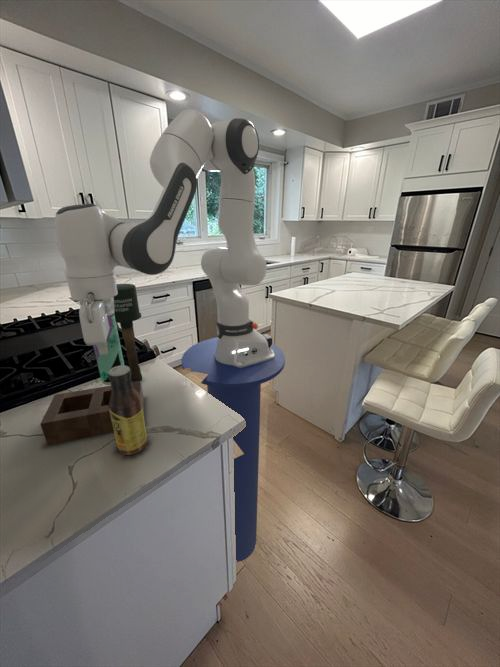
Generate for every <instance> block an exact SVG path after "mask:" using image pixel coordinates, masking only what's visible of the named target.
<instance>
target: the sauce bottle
mask: <svg viewBox="0 0 500 667" xmlns="http://www.w3.org/2000/svg"><path fill="white" fill-rule="evenodd" d="M108 378H109V380H110V382H111V385H110V386H111V387H112V391H111V396H110V401H109V406H108V408H109V412H110V417H111V421H112V426H113V430H114V431H113V435H114V439H115V443H116V447H117V449H118V451H119V452H120V453H121V454H122V455H125V456H130V455H131V456H132V455H135V454H138V453H140V452H141V451H142V450H144V449H145V448H146V445H147V442H148V441H147V437H148V435H147V428H146V424H145V423H146V422H145V414H144V415H143V408H142V405H141V399H140V395H139V392H138V391H137V390H135V389H134V388H133V385H132V382H131V370H130V368H129V365H125V364H124V365H121V366H116V367H113V368H112V369H110V370H109V371H108Z"/></svg>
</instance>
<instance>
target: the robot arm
mask: <svg viewBox="0 0 500 667" xmlns="http://www.w3.org/2000/svg"><path fill="white" fill-rule="evenodd" d="M259 149H260V138H259V134H258V131H257V129H256V127H255V126H254V124H253V122H252V121H251V120H249V119H246V118H239V117H235V118H232V119H226V120H219V121H215V122H213V123H210V121H209V120H208V118H207V117H206V115H204V114H203V113H202V112H200V111H198V110H196V109H193V108H187V109H184V110H182V111H181V112H180V113H178V114H177V115H176V116H175V117H174V118H173V119H172V121H171V122H170V123H169V124H168V125H167V127H166V128H165V130H163V132H162V133H161V135H160V137H159V138H158V140H157V141H156V143H155V145H154V146H153V149H152V151H151V154H150V157H149V165H150V171H151V173H152V175H153V177H154V178H155V180H156V182H157V183H158V184H160V186H161V187H162V188H163V189H162V191H161V194H160V196H159V198H158V200H157V202H156V204H155V205H154V206H155V207H154V209H153V211H152V213H151V215H150V216H149V217H147V218H146V219H145V220H142V221H140V222H126V221H125V220H122V219H119V218H117V217H116V216H113V215H112V214H110V213H108V212H106V211H104V210H103V209H102V208H100V207H99V206H98V205H97V204H95V203H82V204H74V205H67V206H63V207H61V208H59V209H58V210H57V211H56V212H55V216H54V222H55V232H56V239H57V243H58V244H57V245H58V247H59V252H60V256H61V257H62V258H63V261H64V263H65V277H66V281H67V286H68V289H69V293H70V297H71V299H72V300H74V301H78V302H79V305H80V307H79V309H78V316H79V322H80V327H81V334H82V338H83V342H84V343H85V345H86V346H93V345H96V346H97V348H98V351H99V354H100V355H105V354H108V351H109V348H108V344H107V342H106V340H107V336H108V333H109V330H110V327H109V322H108V317H107V313H106V314H105V306H106V305H108V306H111V307H112V308H113V309H112V310H113V311H114V312H115V308H114V296H116V295H117V294H118V291H117V285H116V284H117V281H116V275H115V268H116V267H123V268H126V269H129V270H135V271H137V272H140V273H142V274H145V275H149V276H154V275H159V274H162V273H163V272H165V271H166V270H168V268H169V267H170V266H171V265H172V262H173V260H174V257H175V254H176V249H177V243H178V237H179V235H180V233H181V230H182V227H183V225H184V222H185V220H186V217H187V215H188V212H189V210H190V209H191V205H192V203H193V200H194V198H195V195H196V192H197V188H198V177H199V175H200V172H204V173H209V172H218V173H219V176H220V179H221V183H220V188H219V197H218V199H219V201H218V217H217V227H218V229H219V231H220V232H221V233H222V234H223V236H224V238H225V241H226V247H223V246H219V247H218V246H217V247H212V248H209V249H207V250H205V251H204V253H203V254H202V256H201V258H200V259H201V260H200V266H201V269H202V272H203V273H204V274H205V276H206V277H207V278H208V280H209V282H210V284H211V287H212V290H213V293H214V296H215V301H216V312H217V314H216V315H217V320H216V325H215V326H216V328H215V329H216V337H218V341H217V349H216V353H215V359H216V360H217V361H218V362H220V363H223V364H227V365H233V366H235V367H238V368H242V367H246V366H249V365H253V364H256V363H260V362H264V361H267V360H271V359H274V357H275V355H274V351H273V350H272V349H271V348H270V347H271V345H272V344H273V337H272V336H271V335H270V334H268V333H265V334H264V333H263V334H262V333H260V332H258V331H257V329H258V328H259V325H258V324H257V323H256V322H254V321H253V320H251V319H250V318H249V317H250V301H249V299H248V296H247V295H246V294H245V293H244V292H243V289H242V288H241V286H257V285H260V283H262V282H263V280H264V279H265V278H266V275H267V273H268V272H267V270H268V264H267V260H266V259H265V257H264V256H263V255H262V253H261V252H260V250H259V249H258V246H257V243H256V239H255V232H254V219H255V217H254V216H255V206H256V205H255V204H256V176H255V170H254V166H255V164H256V163H255V162H256V160H257V158H258V155H259V151H260V150H259ZM91 322H92V323H91Z"/></svg>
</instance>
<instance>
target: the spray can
mask: <svg viewBox="0 0 500 667" xmlns="http://www.w3.org/2000/svg"><path fill="white" fill-rule="evenodd" d="M112 309H113V308H112V307H111V306H108V305H106V306H105V314H106V313H107V317H108V322H109V327H110V330H109V333H108V336H107V340H106V342H107V344H108V348H109V351H108V354H105V355H100V354H99V351H98V348H97V346H96V345H92V347H93V351H94V356H95V358H96V363H97V368H98V372H99V376H100V381H101V383H102V384H103V385H105V386H111V382H110V380H109V378H108V371H109V370H110V369H112V368H113V367H116V366H121V365H124V366H125V360H124V356H123V352H122V346H121V340H120V336H119V331H118V326H117V323H116V321H115V316H114V311H113V310H112ZM91 323H92V322H91Z"/></svg>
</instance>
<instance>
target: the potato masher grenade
mask: <svg viewBox="0 0 500 667" xmlns="http://www.w3.org/2000/svg"><path fill="white" fill-rule="evenodd" d="M116 285H117V291H118V294H117V295H116V296H114V308H115V312H114V316H115V321H116V324H119V326H120V328H121V329H120V330H121V334H122V338H123V339H122V340H123V341H124V347H125V352H126V357H127V362H128V363H127V364H128V367H129V368H130V370H131V382H136V381H141V382H142V381H143V375H142V370H141V367H140V364H139V359H138V353H137V347H136V342H135V329H134V321H137V320H139V319H141V318H142V312H140V305H139V300H138V292H137V287H136V285H135V284H132V283H116Z"/></svg>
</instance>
